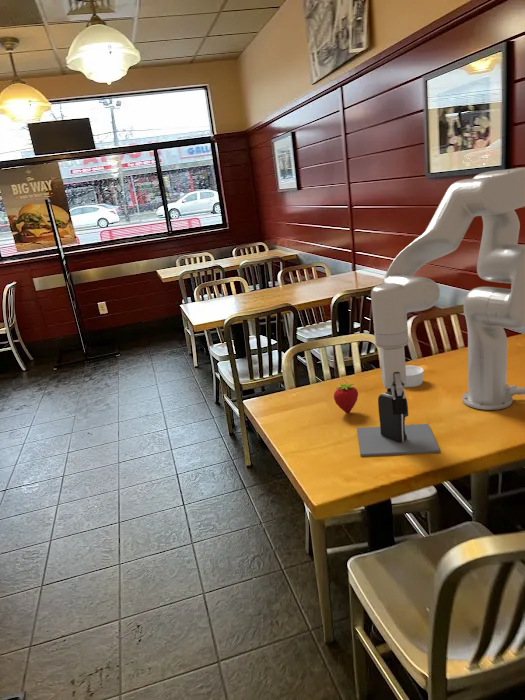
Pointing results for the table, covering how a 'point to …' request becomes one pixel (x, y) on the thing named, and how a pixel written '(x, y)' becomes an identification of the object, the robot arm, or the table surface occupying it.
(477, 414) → the table surface
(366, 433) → the mat
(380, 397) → the battery charger
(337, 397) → the strawberry
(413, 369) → the ramekin
